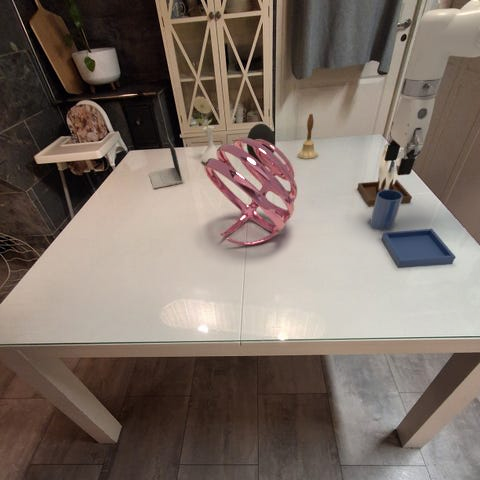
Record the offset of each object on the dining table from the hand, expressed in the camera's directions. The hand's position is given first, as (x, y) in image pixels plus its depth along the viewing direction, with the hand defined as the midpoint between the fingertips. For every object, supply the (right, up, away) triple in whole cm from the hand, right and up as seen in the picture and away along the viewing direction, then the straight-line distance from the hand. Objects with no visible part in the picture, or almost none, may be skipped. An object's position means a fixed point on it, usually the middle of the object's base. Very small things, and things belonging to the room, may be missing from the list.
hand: (396, 167), depth 80 cm
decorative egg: (-32, +30, +54) cm, 70 cm away
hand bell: (-11, +33, +55) cm, 65 cm away
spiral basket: (-37, -13, +15) cm, 42 cm away
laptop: (-75, +21, +52) cm, 94 cm away
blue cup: (+2, -11, +12) cm, 17 cm away
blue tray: (+6, -22, +2) cm, 23 cm away
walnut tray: (+8, +2, +24) cm, 25 cm away
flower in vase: (-55, +34, +61) cm, 89 cm away
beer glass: (+8, +3, +24) cm, 25 cm away
